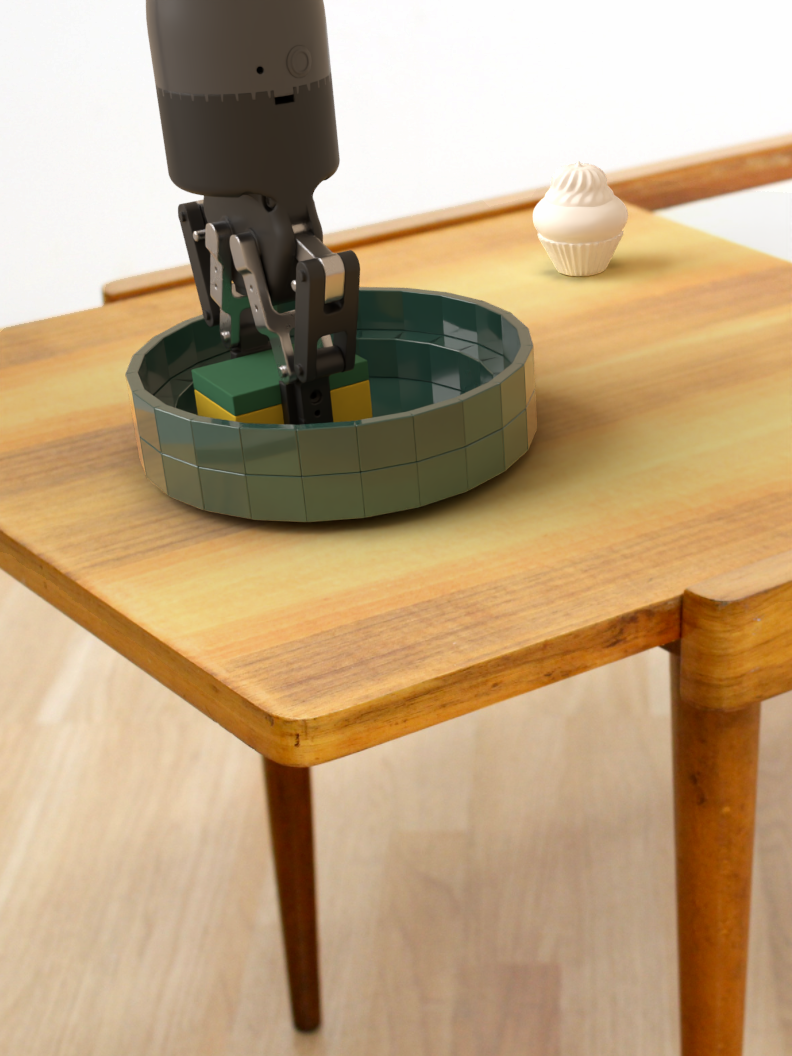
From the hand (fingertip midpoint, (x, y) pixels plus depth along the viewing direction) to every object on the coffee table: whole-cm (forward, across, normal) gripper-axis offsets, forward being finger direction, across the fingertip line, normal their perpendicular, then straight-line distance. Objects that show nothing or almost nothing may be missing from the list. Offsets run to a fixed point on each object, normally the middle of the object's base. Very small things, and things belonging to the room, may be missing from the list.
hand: (287, 432), depth 74 cm
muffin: (+2, -15, +29) cm, 32 cm away
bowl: (+1, 0, +3) cm, 3 cm away
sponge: (+1, 0, 0) cm, 1 cm away
